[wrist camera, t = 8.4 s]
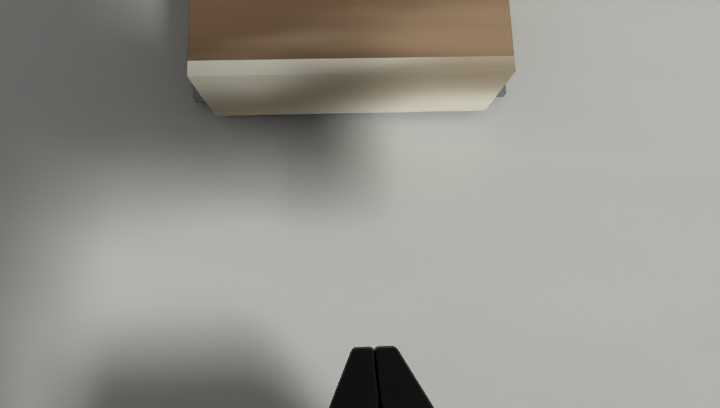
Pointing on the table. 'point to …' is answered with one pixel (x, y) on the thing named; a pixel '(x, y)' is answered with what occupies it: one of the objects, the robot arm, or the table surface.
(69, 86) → the table surface
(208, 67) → the walnut block
